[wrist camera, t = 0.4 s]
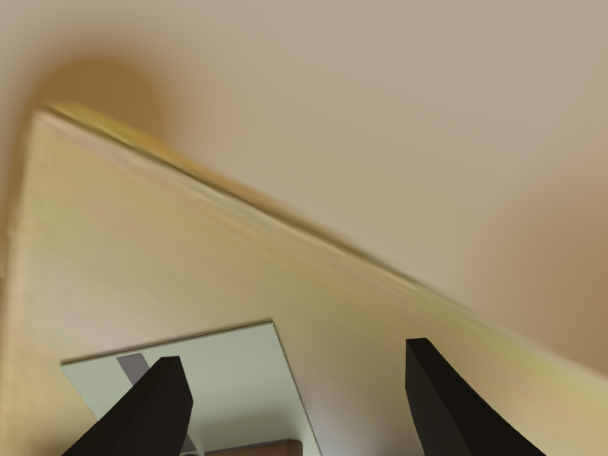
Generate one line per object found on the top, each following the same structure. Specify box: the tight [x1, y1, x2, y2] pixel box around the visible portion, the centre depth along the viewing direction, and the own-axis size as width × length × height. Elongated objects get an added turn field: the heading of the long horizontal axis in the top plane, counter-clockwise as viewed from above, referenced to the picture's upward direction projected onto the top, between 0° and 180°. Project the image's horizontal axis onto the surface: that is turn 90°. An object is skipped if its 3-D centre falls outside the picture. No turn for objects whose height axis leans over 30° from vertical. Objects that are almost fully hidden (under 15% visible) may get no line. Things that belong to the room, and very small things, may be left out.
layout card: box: [60, 322, 321, 456], centre depth 26 cm, size 16×15×1 cm
